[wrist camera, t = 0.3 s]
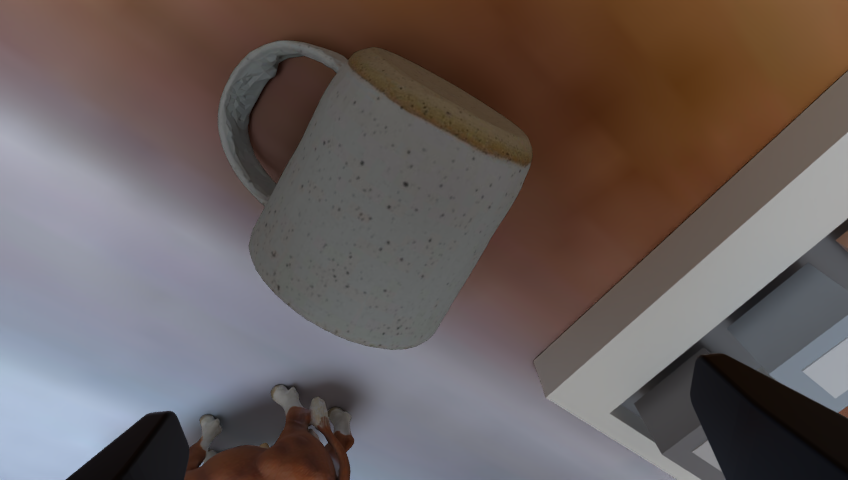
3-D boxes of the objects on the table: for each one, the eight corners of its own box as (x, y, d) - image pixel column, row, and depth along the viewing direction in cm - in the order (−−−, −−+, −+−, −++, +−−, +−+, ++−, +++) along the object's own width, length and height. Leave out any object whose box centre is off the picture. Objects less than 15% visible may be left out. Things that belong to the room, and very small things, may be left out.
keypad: (681, 457, 31) (704, 496, 28) (532, 361, 27) (545, 397, 25) (1142, 118, 22) (1228, 135, 20) (1020, -89, 19) (1108, -98, 16)
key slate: (780, 371, 25) (828, 421, 22) (726, 328, 24) (769, 375, 21) (860, 311, 23) (921, 357, 21) (808, 262, 22) (865, 303, 19)
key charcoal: (688, 440, 27) (722, 493, 24) (633, 403, 25) (662, 455, 23) (758, 388, 25) (801, 439, 23) (703, 347, 24) (742, 395, 21)
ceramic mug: (525, 114, 21) (581, 179, 14) (429, 272, 24) (438, 388, 17) (274, -24, 19) (198, -24, 12) (203, 171, 22) (110, 260, 15)
